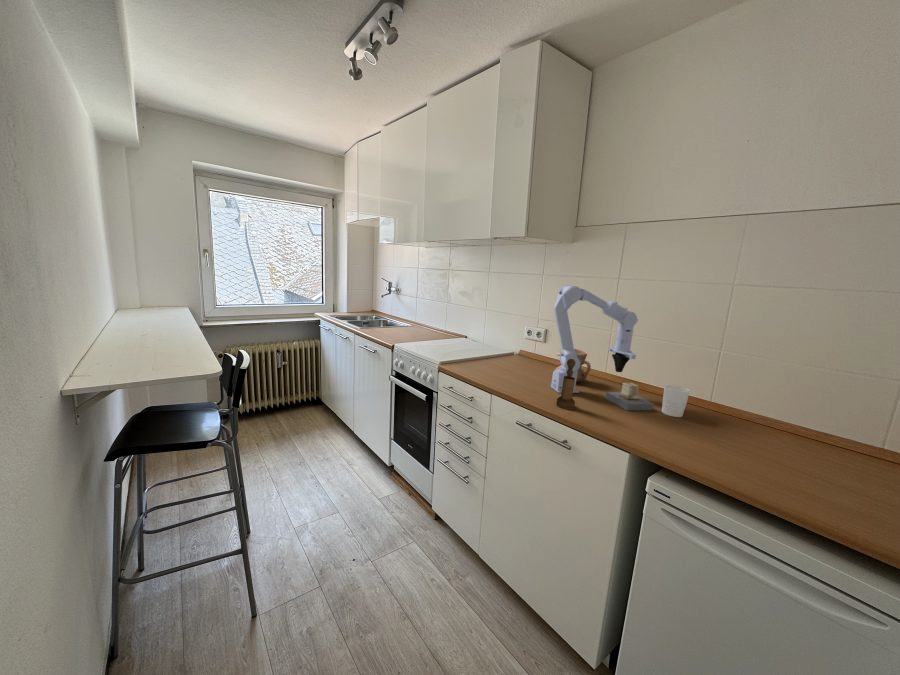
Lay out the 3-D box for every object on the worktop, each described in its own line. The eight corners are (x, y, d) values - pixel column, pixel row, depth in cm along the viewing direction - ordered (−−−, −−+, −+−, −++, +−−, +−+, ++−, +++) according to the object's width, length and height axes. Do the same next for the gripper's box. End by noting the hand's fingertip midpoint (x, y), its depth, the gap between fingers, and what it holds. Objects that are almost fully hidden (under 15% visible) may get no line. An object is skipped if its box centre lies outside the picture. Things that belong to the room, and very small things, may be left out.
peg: (626, 405, 139) (629, 386, 137) (619, 402, 143) (622, 382, 141) (635, 405, 139) (639, 386, 138) (628, 402, 143) (631, 382, 142)
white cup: (660, 414, 132) (665, 388, 130) (659, 408, 139) (664, 383, 137) (685, 419, 128) (691, 393, 126) (683, 413, 135) (688, 387, 133)
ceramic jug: (545, 376, 172) (548, 347, 169) (565, 373, 180) (568, 345, 177) (576, 388, 157) (581, 357, 154) (596, 384, 165) (601, 354, 162)
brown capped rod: (575, 410, 130) (582, 362, 127) (557, 408, 131) (563, 360, 128) (573, 404, 136) (579, 358, 133) (555, 401, 137) (561, 356, 134)
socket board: (626, 410, 134) (627, 404, 133) (605, 397, 146) (606, 392, 146) (652, 410, 136) (653, 403, 135) (629, 397, 148) (630, 392, 148)
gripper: (644, 343, 141) (639, 376, 144) (621, 336, 155) (616, 367, 158) (628, 343, 140) (623, 376, 143) (606, 336, 154) (601, 366, 157)
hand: (618, 371), depth 150 cm, fingers closed
